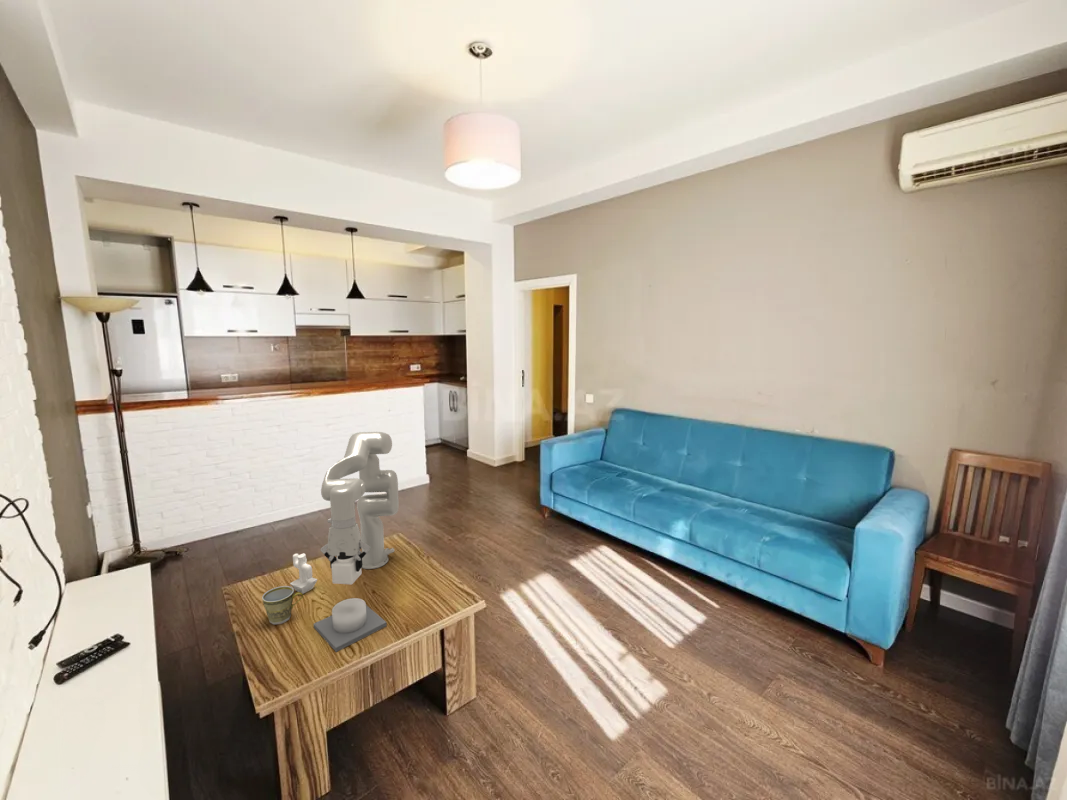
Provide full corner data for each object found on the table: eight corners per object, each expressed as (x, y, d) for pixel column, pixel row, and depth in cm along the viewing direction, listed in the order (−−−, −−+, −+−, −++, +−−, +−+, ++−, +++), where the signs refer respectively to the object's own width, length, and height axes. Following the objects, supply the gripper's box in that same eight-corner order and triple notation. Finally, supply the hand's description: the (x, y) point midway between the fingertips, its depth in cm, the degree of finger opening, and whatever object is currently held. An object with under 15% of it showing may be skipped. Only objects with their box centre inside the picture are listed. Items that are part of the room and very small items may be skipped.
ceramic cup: (260, 630, 158) (258, 603, 157) (269, 613, 168) (266, 588, 166) (301, 623, 162) (299, 597, 160) (307, 607, 171) (305, 582, 170)
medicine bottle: (362, 573, 161) (360, 542, 159) (352, 585, 154) (350, 552, 152) (342, 572, 161) (340, 541, 159) (332, 583, 154) (329, 550, 152)
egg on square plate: (362, 605, 173) (361, 587, 171) (386, 626, 160) (385, 606, 159) (313, 627, 159) (312, 608, 158) (336, 652, 147) (334, 631, 146)
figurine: (303, 597, 177) (300, 561, 175) (288, 591, 182) (285, 556, 179) (320, 588, 184) (317, 553, 181) (305, 582, 188) (302, 548, 186)
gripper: (312, 526, 150) (316, 576, 153) (366, 526, 151) (368, 575, 153) (322, 517, 157) (325, 564, 160) (373, 517, 158) (375, 563, 161)
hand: (346, 569), depth 157 cm, fingers closed on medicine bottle, 7 cm apart
